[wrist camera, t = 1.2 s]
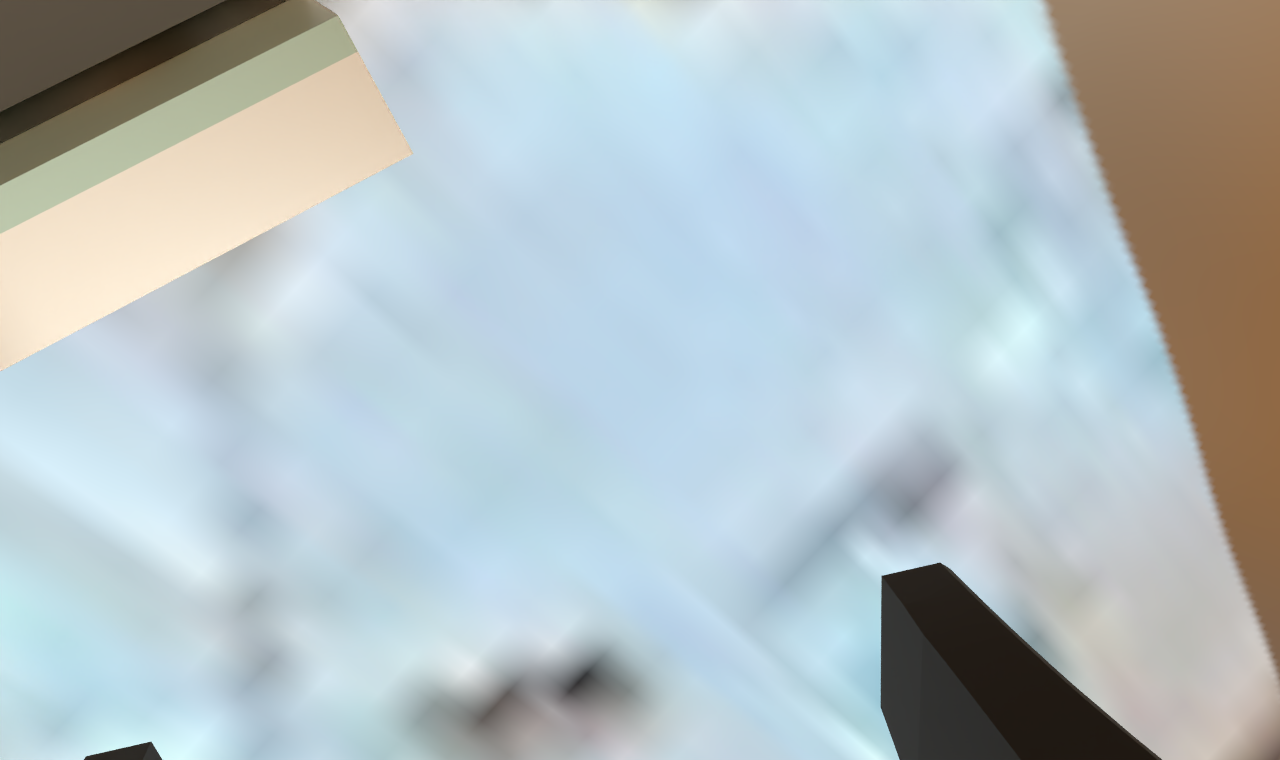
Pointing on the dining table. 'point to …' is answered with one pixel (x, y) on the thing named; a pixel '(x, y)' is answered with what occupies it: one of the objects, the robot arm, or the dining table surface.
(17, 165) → the tile
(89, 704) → the dining table surface
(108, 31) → the mat
